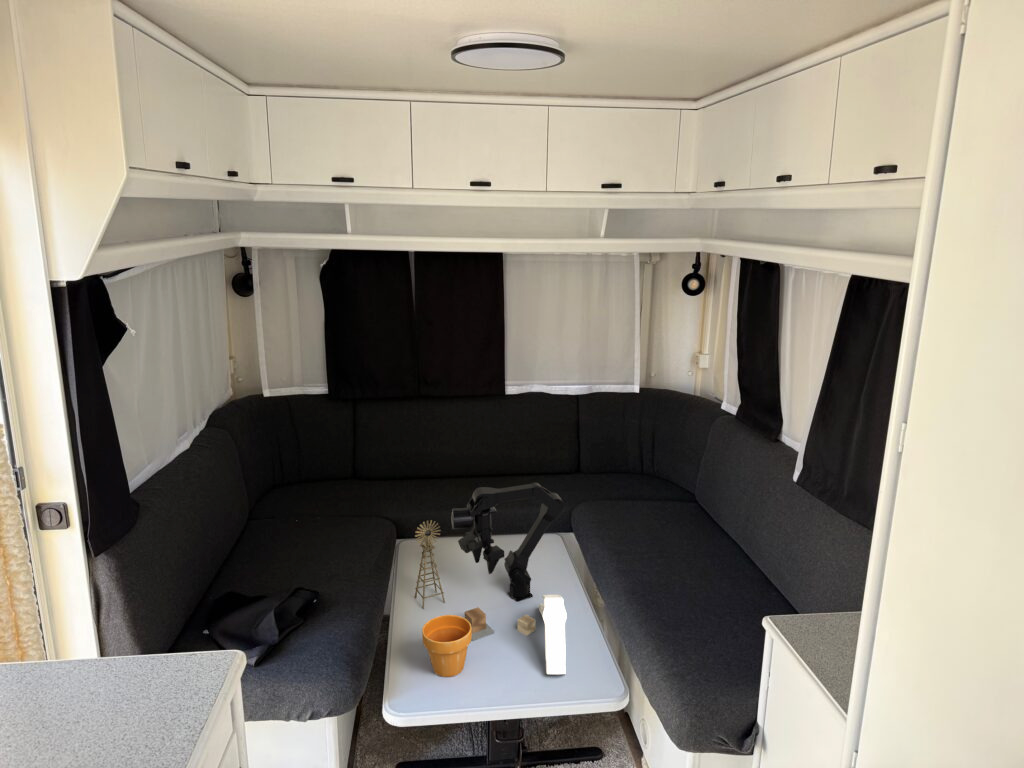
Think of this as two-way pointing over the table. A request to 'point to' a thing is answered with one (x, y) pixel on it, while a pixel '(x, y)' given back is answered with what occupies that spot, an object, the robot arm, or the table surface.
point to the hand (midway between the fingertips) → (483, 568)
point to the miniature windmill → (429, 547)
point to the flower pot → (447, 643)
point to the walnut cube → (476, 619)
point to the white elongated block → (554, 633)
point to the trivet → (482, 633)
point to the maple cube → (526, 625)
